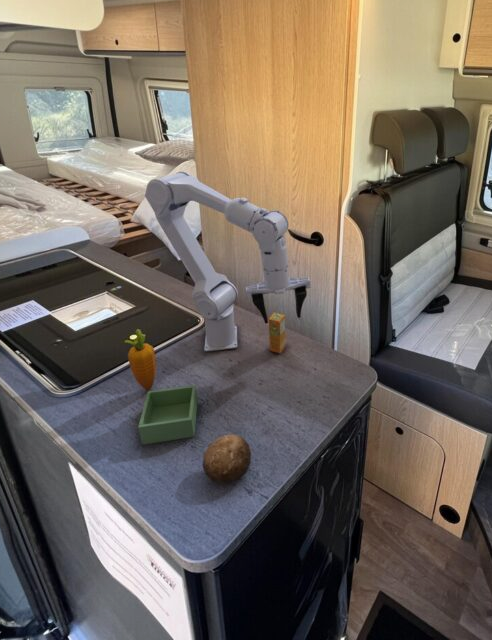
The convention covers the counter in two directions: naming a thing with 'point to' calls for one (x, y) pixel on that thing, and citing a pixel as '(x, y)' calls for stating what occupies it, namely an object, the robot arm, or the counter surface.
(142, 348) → the carrot
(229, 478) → the brown oval lump
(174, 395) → the bin
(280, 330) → the supplement box
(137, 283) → the counter surface
